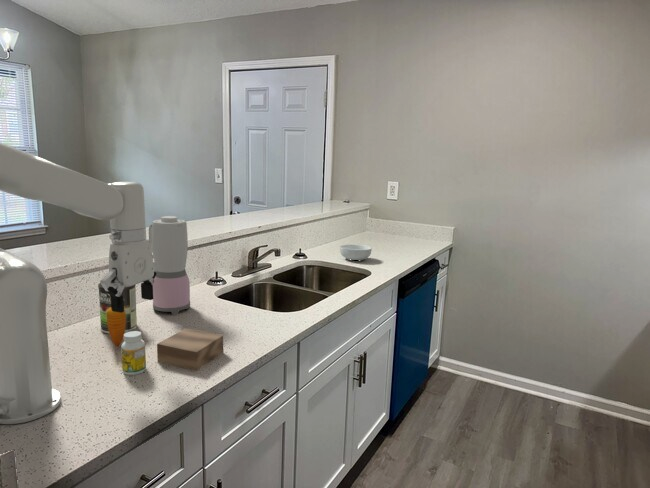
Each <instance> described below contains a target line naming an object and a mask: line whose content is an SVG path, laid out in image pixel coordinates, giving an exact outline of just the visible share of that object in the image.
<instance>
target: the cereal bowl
mask: <svg viewBox="0 0 650 488" xmlns="http://www.w3.org/2000/svg"><path fill="white" fill-rule="evenodd" d="M339 253H340V255H341V256H342V257H343V258H345V259H347V260H348V259H351V260H362V261H364V260H366V259H368V258H369V257H370V256H371V254H372V247H370V246H369V245H365V244H354V243H353V244H342V245H340V246H339Z"/></svg>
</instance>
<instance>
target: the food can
mask: <svg viewBox="0 0 650 488" xmlns="http://www.w3.org/2000/svg"><path fill="white" fill-rule="evenodd" d="M110 284H111V282H110ZM136 286H137V284H135V285H133V286H129V287H126V286H125V287H124V289H123V291H122V293H121V295H122V296H123V298H124V309H125V317H126V322H125V332H124V334H125V333H127V332H131V331H135V330H136V329H137V327H138V323H137V321H138V320H137V319H138V318H137V298H136V296H137V295H136V294H137V293H136V291H137V289H136ZM97 287H98V299H99V314H100V317H99V318H100V320H99V321H100V331H101V332H102V333H104V334H109V330H108V324H107V314H106V311H107V309H109V308H111V300H110V297H111V296H110V295H108V293H107V292H105V291H104V288H103V286H102V285H101V283H100V282H99V283H98V284H97ZM118 287H119V286H117V287H116V290H117V289H118ZM109 335H110V334H109Z"/></svg>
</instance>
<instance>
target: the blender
mask: <svg viewBox="0 0 650 488" xmlns="http://www.w3.org/2000/svg"><path fill="white" fill-rule="evenodd" d="M148 240H149V243H150V246H151V251H152V257H153V262H154V263H157V264H158V268H157V272H156V273H157V274H156V276H155V278H154V283H153V300H152V310H154V311H155V310H156V311H158V312H159V311H160V312H166V313H167V312H171V316H172V315H179V312H180V311H183V310H185V309H186V310H187V311H189V310H190V308H191V293H190V292H191V289H190V288H191V287H190V278H189V275H188V273H187V271H186V267H187V266H186V265H187V257H188V249H189V248H188V223H187V220H183V219H178V217H177V216H176V215H175V216H173V215H165V216H161V217H160V219H155V220H152V223H151V224H150V226H149V228H148Z"/></svg>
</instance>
